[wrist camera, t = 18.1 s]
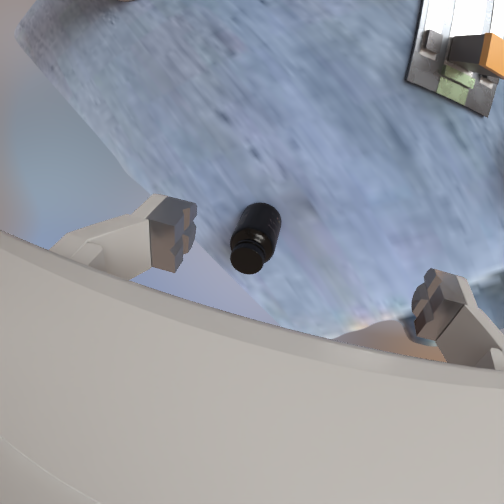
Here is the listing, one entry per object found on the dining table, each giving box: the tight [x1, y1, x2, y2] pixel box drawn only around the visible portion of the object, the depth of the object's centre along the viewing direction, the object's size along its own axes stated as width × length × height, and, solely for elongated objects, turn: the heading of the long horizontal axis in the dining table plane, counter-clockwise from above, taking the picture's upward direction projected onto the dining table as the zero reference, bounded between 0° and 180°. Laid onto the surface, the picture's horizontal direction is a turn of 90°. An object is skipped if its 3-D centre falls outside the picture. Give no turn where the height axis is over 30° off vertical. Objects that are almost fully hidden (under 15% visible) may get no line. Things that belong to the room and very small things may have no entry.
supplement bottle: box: [230, 203, 281, 274], centre depth 49 cm, size 7×7×12 cm
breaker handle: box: [448, 33, 504, 79], centre depth 23 cm, size 4×4×12 cm
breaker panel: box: [405, 0, 504, 118], centre depth 24 cm, size 26×14×3 cm, turn 172°
